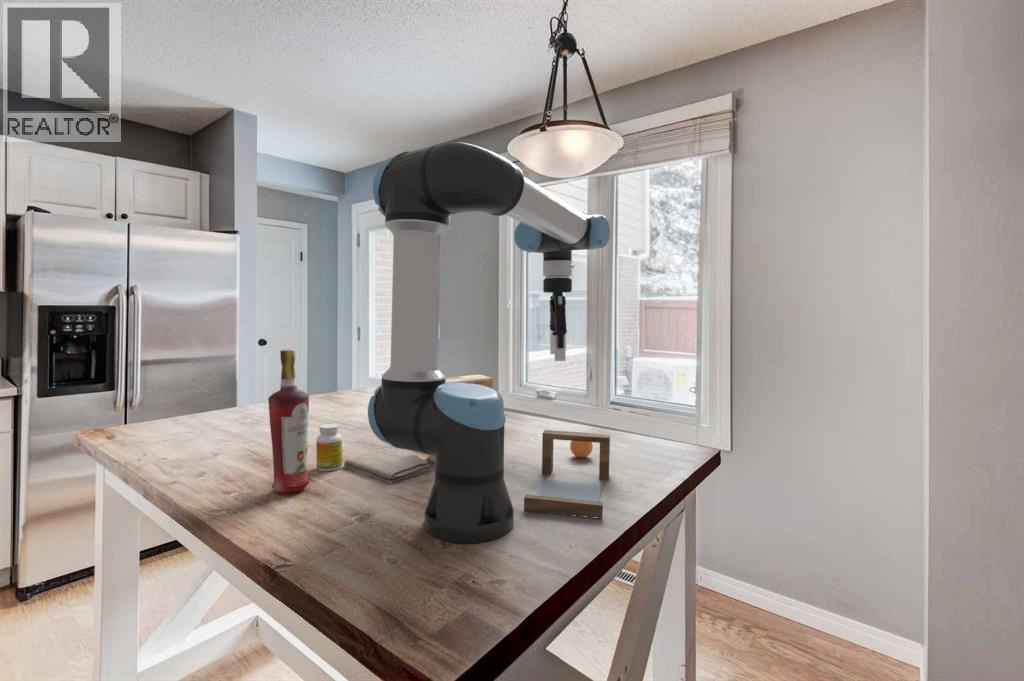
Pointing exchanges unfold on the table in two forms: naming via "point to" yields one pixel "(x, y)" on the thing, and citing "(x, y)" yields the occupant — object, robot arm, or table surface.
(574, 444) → the ball
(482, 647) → the table surface
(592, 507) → the stop rail
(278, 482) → the liquor
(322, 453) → the supplement bottle
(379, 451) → the washcloth
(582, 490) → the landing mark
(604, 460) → the bridge
